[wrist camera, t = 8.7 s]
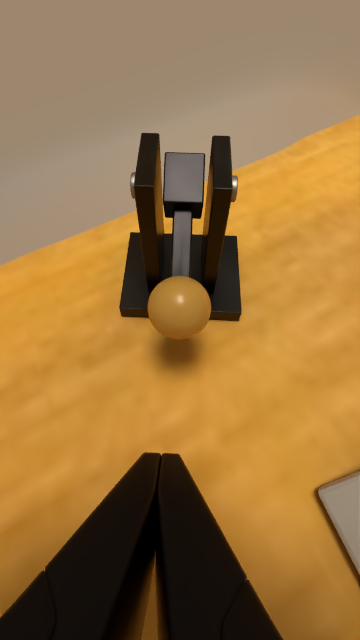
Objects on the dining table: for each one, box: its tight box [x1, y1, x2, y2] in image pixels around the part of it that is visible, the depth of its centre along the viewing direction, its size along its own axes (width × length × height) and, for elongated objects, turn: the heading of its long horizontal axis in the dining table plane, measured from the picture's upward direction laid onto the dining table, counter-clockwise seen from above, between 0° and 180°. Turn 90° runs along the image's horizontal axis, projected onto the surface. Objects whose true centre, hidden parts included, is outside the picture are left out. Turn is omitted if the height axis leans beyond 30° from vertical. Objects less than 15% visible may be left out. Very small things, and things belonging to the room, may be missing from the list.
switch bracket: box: [119, 133, 241, 320], centre depth 22 cm, size 8×9×11 cm
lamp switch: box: [148, 152, 211, 339], centre depth 19 cm, size 10×4×4 cm, turn 177°
